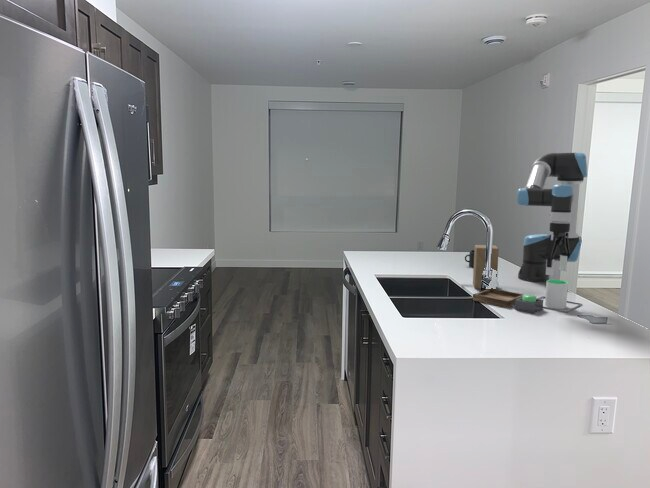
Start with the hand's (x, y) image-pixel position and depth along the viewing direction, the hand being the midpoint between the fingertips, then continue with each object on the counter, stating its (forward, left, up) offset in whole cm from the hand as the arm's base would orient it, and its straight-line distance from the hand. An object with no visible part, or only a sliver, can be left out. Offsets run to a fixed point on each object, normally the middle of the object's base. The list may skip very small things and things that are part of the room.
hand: (556, 272), depth 206 cm
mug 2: (0, 0, -14) cm, 14 cm away
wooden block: (-7, -36, -14) cm, 39 cm away
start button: (+15, -4, -13) cm, 20 cm away
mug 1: (-50, -66, -14) cm, 84 cm away
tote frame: (0, 0, -14) cm, 14 cm away
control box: (+15, -4, -14) cm, 21 cm away
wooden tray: (+11, -19, -14) cm, 26 cm away
